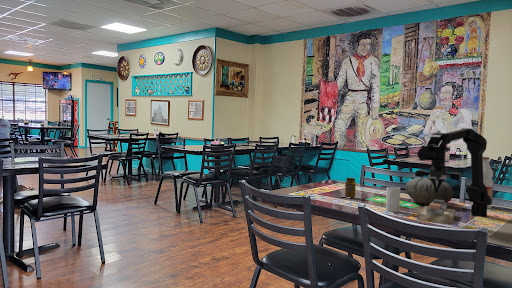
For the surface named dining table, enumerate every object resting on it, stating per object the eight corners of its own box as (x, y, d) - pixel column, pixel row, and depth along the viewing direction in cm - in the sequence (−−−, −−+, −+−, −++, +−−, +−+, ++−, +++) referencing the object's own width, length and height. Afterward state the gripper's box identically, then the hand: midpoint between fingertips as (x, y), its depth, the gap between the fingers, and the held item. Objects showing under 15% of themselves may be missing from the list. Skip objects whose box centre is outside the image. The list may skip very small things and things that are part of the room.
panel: (455, 216, 182) (455, 204, 182) (450, 224, 166) (451, 211, 166) (424, 211, 190) (424, 200, 190) (417, 219, 174) (417, 206, 173)
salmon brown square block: (440, 210, 173) (441, 204, 173) (439, 212, 170) (440, 205, 170) (430, 209, 176) (431, 202, 176) (429, 210, 172) (429, 204, 172)
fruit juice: (495, 208, 202) (498, 157, 201) (480, 208, 201) (483, 157, 199) (482, 204, 212) (485, 156, 210) (467, 205, 210) (470, 156, 209)
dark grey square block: (444, 206, 183) (444, 200, 183) (443, 207, 180) (443, 201, 180) (434, 205, 186) (434, 199, 186) (433, 206, 182) (433, 200, 182)
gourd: (401, 200, 206) (406, 169, 207) (405, 200, 228) (409, 172, 229) (451, 210, 194) (456, 178, 195) (450, 209, 216) (455, 180, 217)
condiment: (358, 197, 224) (358, 178, 223) (350, 199, 218) (351, 179, 217) (347, 196, 229) (348, 176, 229) (339, 197, 223) (340, 178, 223)
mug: (387, 208, 196) (388, 186, 195) (400, 210, 192) (401, 187, 191) (382, 212, 187) (383, 188, 187) (395, 214, 184) (396, 190, 183)
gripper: (413, 159, 171) (412, 193, 171) (459, 162, 160) (457, 198, 161) (418, 158, 180) (416, 189, 181) (461, 160, 170) (460, 194, 170)
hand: (436, 193), depth 173 cm, fingers closed
